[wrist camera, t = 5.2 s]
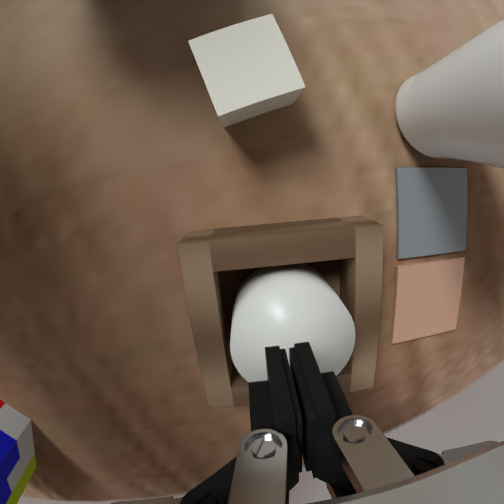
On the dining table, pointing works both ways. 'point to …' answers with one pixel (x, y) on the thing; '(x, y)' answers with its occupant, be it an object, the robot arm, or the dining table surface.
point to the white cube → (247, 69)
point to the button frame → (274, 254)
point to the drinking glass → (458, 102)
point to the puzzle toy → (15, 454)
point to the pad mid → (431, 210)
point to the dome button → (289, 319)
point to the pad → (426, 298)
